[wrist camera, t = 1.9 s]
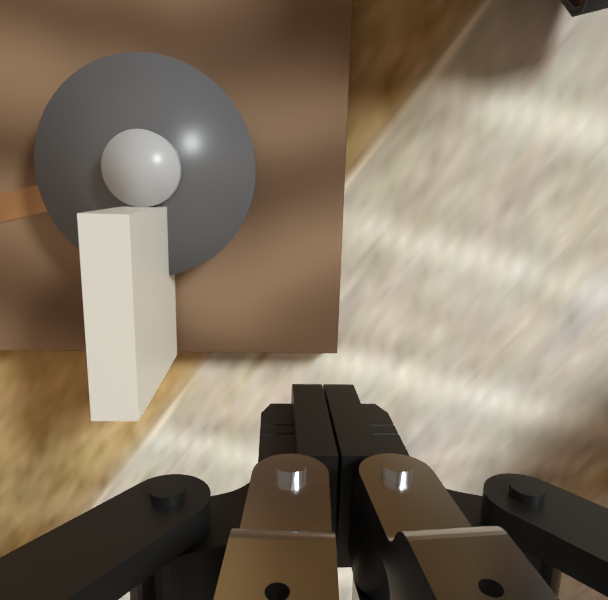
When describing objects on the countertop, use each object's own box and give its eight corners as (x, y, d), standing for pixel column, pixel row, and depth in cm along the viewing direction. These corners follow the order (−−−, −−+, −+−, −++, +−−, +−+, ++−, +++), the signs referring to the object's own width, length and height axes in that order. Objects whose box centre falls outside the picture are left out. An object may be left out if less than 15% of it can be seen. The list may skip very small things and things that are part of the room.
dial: (38, 54, 21) (-73, -6, 14) (257, 63, 22) (248, 9, 15) (62, 354, 24) (-22, 420, 17) (255, 355, 25) (247, 421, 18)
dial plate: (-48, -39, 22) (-71, -55, 21) (348, -18, 23) (353, -33, 22) (-6, 340, 26) (-24, 350, 24) (333, 343, 27) (337, 353, 25)
